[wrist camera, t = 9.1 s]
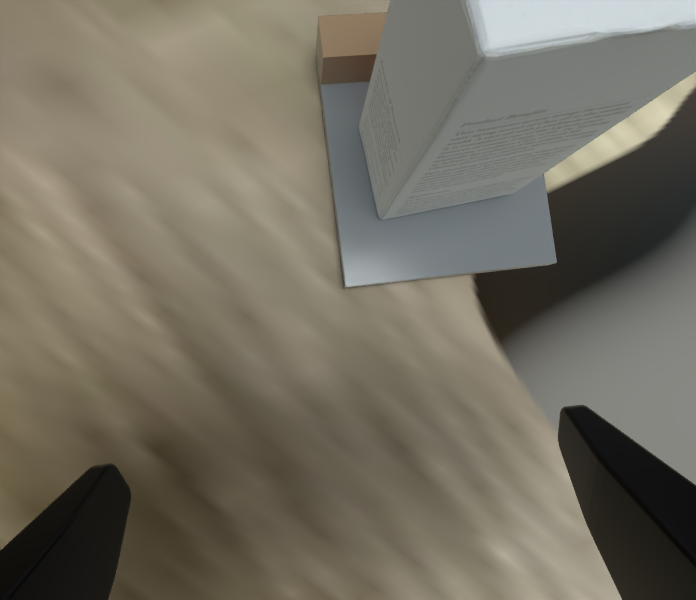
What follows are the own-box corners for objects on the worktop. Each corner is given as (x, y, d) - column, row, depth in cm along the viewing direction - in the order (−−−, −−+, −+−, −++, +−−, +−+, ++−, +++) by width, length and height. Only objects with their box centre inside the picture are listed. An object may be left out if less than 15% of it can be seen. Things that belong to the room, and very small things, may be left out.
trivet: (547, 265, 21) (584, 255, 18) (344, 288, 20) (351, 281, 18) (515, 45, 22) (546, 3, 19) (315, 58, 21) (318, 15, 18)
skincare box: (490, 99, 21) (748, -217, 9) (513, 196, 20) (809, 9, 9) (351, 123, 20) (427, -182, 8) (374, 224, 20) (485, 62, 8)
